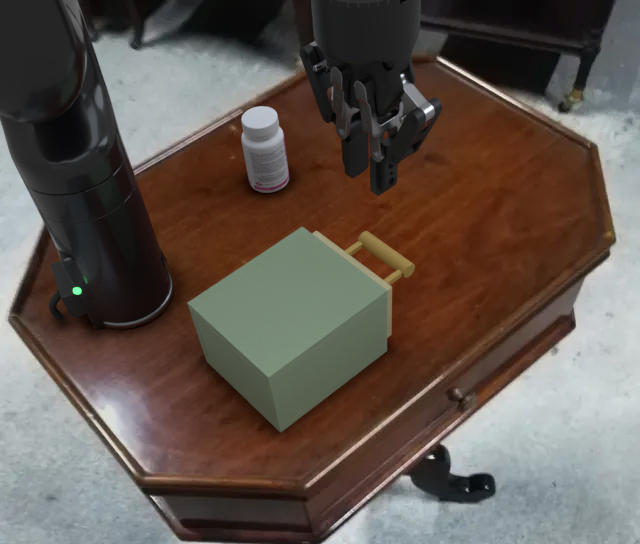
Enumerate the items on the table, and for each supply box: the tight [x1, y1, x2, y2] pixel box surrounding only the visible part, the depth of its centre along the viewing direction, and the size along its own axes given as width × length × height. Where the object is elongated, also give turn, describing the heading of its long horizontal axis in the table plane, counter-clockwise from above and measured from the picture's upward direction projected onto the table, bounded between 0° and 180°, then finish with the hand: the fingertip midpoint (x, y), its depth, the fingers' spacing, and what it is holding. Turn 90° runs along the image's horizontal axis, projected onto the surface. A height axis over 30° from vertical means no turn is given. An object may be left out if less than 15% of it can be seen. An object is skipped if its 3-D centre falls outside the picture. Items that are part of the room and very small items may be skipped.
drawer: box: [311, 230, 416, 339], centre depth 71 cm, size 17×10×7 cm, turn 131°
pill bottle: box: [240, 105, 290, 194], centre depth 84 cm, size 5×5×8 cm
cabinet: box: [186, 226, 388, 433], centre depth 70 cm, size 14×12×9 cm
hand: (369, 180), depth 64 cm, fingers closed
